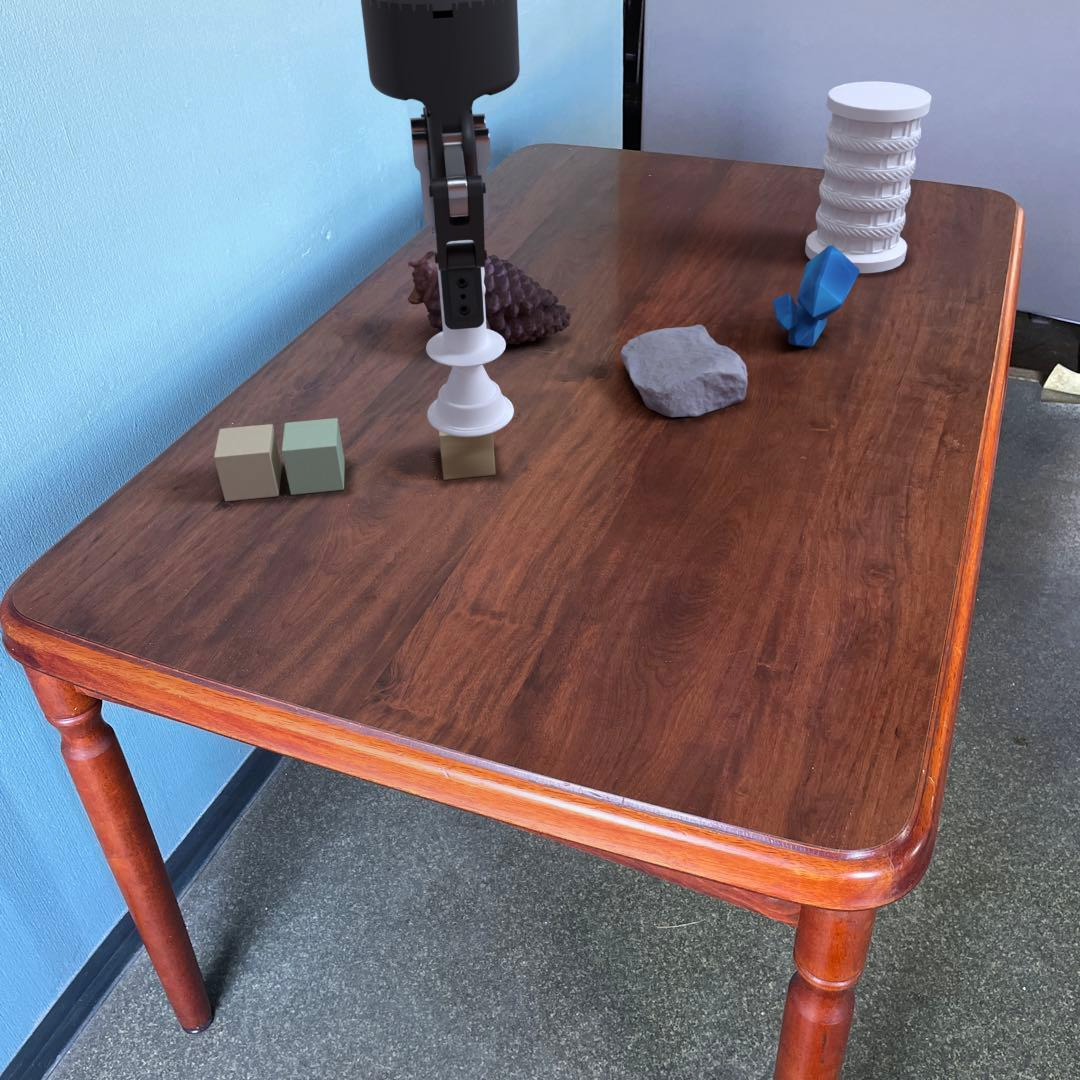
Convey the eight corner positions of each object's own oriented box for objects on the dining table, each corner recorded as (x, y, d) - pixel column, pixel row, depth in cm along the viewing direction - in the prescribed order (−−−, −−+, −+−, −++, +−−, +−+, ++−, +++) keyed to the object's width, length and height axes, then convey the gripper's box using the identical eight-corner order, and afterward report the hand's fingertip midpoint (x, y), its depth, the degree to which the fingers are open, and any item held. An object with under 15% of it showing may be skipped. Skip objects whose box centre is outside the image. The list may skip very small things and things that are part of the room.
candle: (475, 382, 69) (462, 201, 62) (531, 414, 66) (526, 227, 59) (409, 414, 66) (388, 229, 59) (465, 449, 63) (450, 258, 56)
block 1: (225, 501, 91) (213, 457, 88) (230, 472, 94) (219, 428, 92) (278, 496, 91) (269, 451, 88) (282, 467, 95) (272, 423, 92)
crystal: (764, 293, 104) (795, 222, 111) (761, 361, 111) (790, 291, 117) (841, 304, 101) (868, 231, 108) (833, 374, 108) (860, 301, 115)
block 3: (443, 480, 92) (438, 435, 90) (440, 452, 96) (436, 408, 93) (495, 475, 93) (492, 430, 90) (490, 447, 96) (487, 403, 94)
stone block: (663, 440, 99) (758, 399, 101) (655, 397, 96) (752, 355, 98) (611, 386, 108) (698, 349, 110) (601, 345, 105) (691, 307, 107)
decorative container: (786, 256, 127) (804, 98, 116) (836, 227, 134) (858, 74, 123) (875, 282, 121) (903, 117, 110) (923, 249, 128) (954, 91, 117)
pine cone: (573, 313, 117) (588, 260, 108) (550, 391, 113) (563, 342, 104) (416, 266, 116) (418, 209, 107) (388, 342, 113) (388, 290, 104)
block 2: (290, 495, 91) (281, 450, 88) (293, 466, 95) (284, 422, 92) (344, 490, 92) (336, 445, 89) (344, 461, 95) (337, 417, 92)
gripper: (360, -42, 56) (396, 270, 67) (356, 16, 45) (399, 378, 56) (502, -49, 57) (515, 261, 68) (532, 6, 46) (542, 366, 57)
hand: (462, 313), depth 62 cm, fingers closed on candle, 2 cm apart
